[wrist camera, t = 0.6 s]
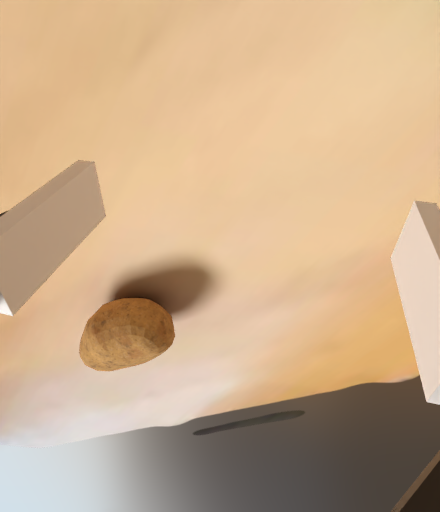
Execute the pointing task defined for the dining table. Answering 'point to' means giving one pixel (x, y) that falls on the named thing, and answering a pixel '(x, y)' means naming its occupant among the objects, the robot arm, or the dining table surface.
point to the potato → (126, 334)
